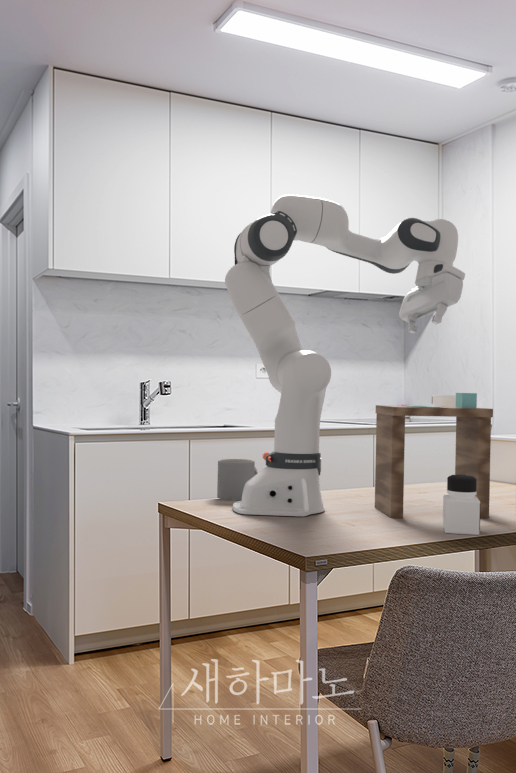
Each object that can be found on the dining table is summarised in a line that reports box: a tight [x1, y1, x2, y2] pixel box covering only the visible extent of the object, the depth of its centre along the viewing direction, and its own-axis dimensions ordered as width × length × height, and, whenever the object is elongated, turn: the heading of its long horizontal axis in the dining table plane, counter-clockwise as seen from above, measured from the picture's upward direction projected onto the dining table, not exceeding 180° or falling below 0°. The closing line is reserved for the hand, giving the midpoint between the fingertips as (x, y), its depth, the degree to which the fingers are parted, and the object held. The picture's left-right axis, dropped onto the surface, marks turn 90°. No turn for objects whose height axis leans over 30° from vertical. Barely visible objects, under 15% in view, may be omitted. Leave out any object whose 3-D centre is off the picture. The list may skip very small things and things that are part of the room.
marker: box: [431, 392, 478, 408], centre depth 177 cm, size 23×4×4 cm, turn 6°
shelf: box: [374, 404, 494, 519], centre depth 171 cm, size 24×16×26 cm, turn 96°
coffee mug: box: [216, 458, 259, 502], centre depth 189 cm, size 13×10×10 cm
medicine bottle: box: [442, 474, 481, 536], centre depth 149 cm, size 7×7×12 cm
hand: (423, 327), depth 174 cm, fingers open, 8 cm apart
